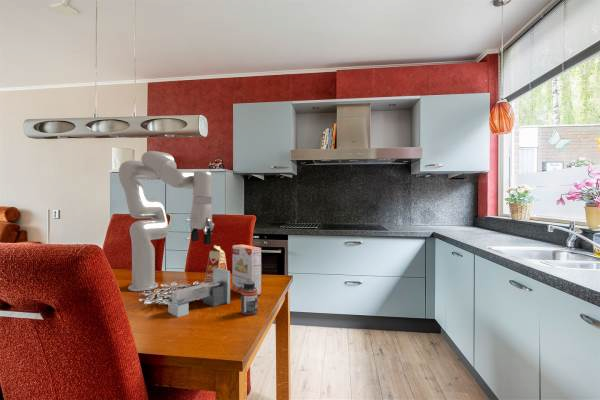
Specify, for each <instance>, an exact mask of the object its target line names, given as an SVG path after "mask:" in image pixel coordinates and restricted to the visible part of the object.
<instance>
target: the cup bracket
mask: <svg viewBox="0 0 600 400" xmlns="http://www.w3.org/2000/svg"><path fill="white" fill-rule="evenodd" d="M213 282H217V283H220V287H217V288H213V295H211V296H208V297H204V298H202V303H203V304H205V305H209V306H211V307H214V308H215V307H218V306H220V305H224V304H225V305H226V304H227V305H229V304H231V271H230V270H228V269H227V270H224V269H220V268H216V267H215V268H213Z"/></svg>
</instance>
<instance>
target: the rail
mask: <svg viewBox="0 0 600 400" xmlns="http://www.w3.org/2000/svg"><path fill="white" fill-rule="evenodd" d="M217 287H220V283H217V282H210V283H206V284H204V283H201V284H197V285H192V286H189V287H184V288H180V289H179V288H178V289H176V290H171V298H172V302H173V303H175V304H177V303H178V302H182V301H186V300H189V302H192V301H196V300H199V299H203V298H204V297H208V296H211V295H213V288H217Z"/></svg>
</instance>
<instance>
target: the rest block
mask: <svg viewBox="0 0 600 400" xmlns="http://www.w3.org/2000/svg"><path fill="white" fill-rule="evenodd" d="M167 303H168V307H167V309H168V310H167V312H168V313H169V314H171V315H172V316H175V317H176V318H180V317H184V316H187V315H188V316H189V311H190V310H189V306H190V305H189V303H190V301H189V300H186V301H182V302H178V303H177V304H175V303H173V302H172V297H170V298H168V299H167Z"/></svg>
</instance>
